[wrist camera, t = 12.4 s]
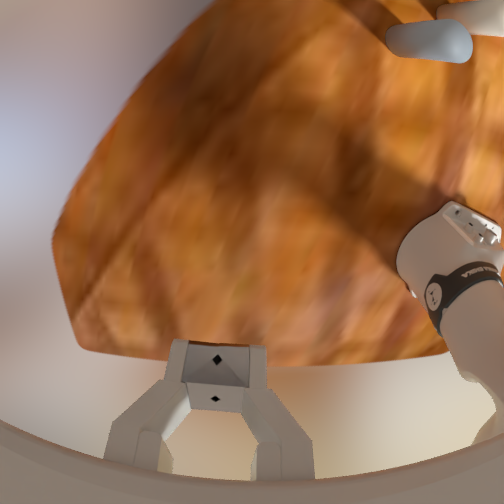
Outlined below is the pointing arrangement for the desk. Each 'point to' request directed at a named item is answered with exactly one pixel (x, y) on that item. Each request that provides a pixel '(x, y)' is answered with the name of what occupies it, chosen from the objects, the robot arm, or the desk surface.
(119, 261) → the desk surface
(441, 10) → the cream post
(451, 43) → the slate post
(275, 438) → the robot arm
